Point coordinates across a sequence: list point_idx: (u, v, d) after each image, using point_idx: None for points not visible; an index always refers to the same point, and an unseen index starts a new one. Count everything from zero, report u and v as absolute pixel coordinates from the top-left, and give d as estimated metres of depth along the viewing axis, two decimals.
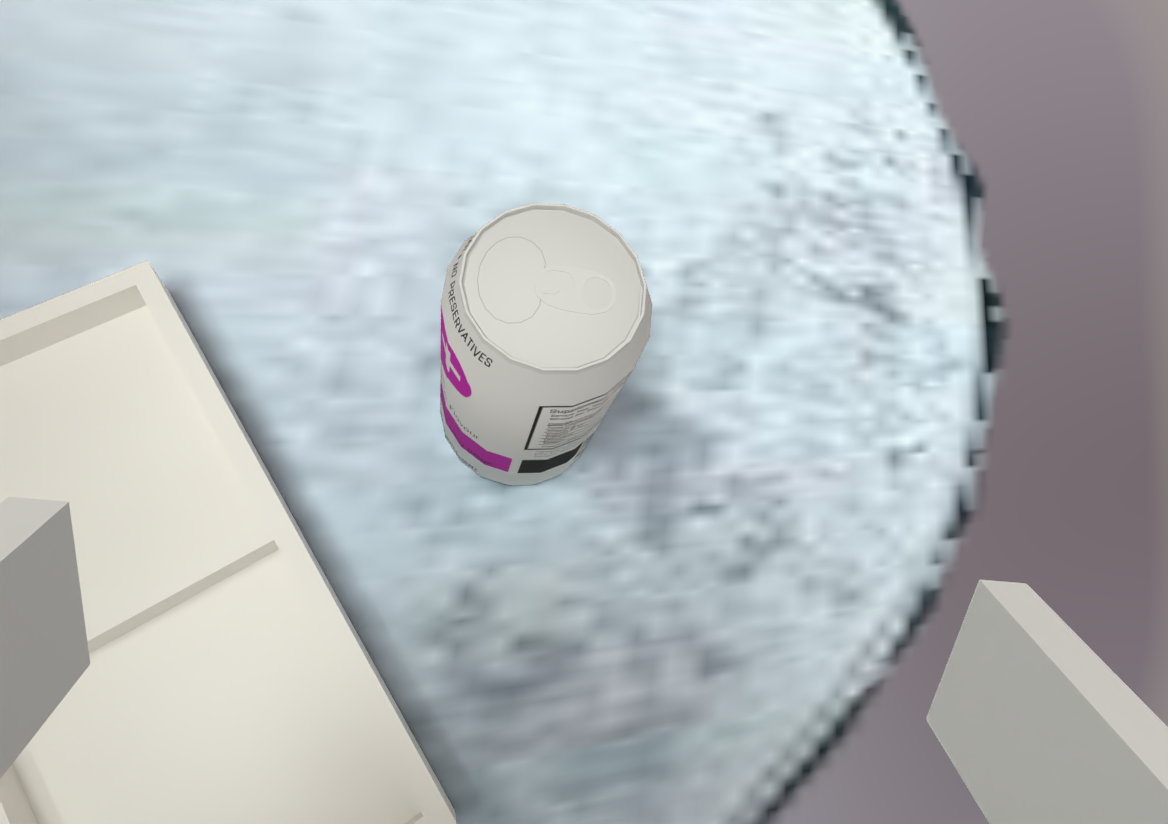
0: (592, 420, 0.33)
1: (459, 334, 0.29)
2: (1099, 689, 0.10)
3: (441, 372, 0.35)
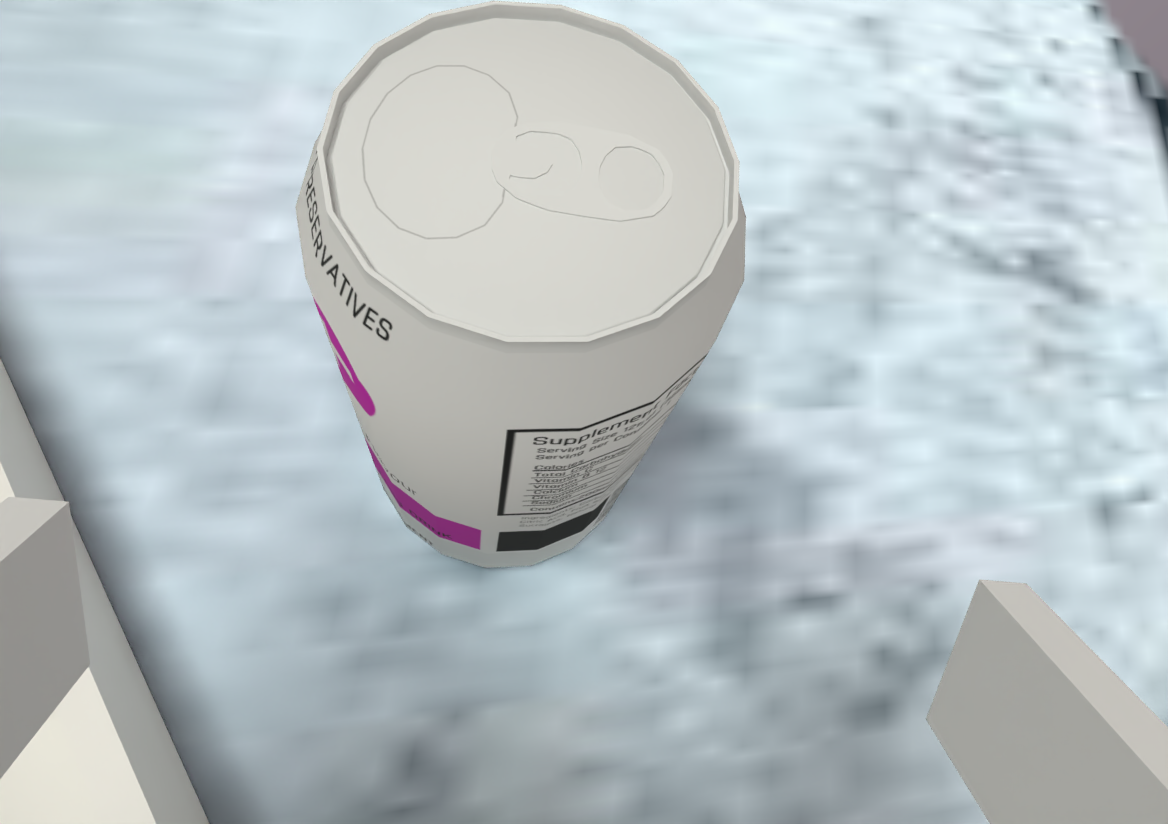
0: (625, 459, 0.17)
1: (323, 270, 0.13)
2: (1099, 689, 0.10)
3: None
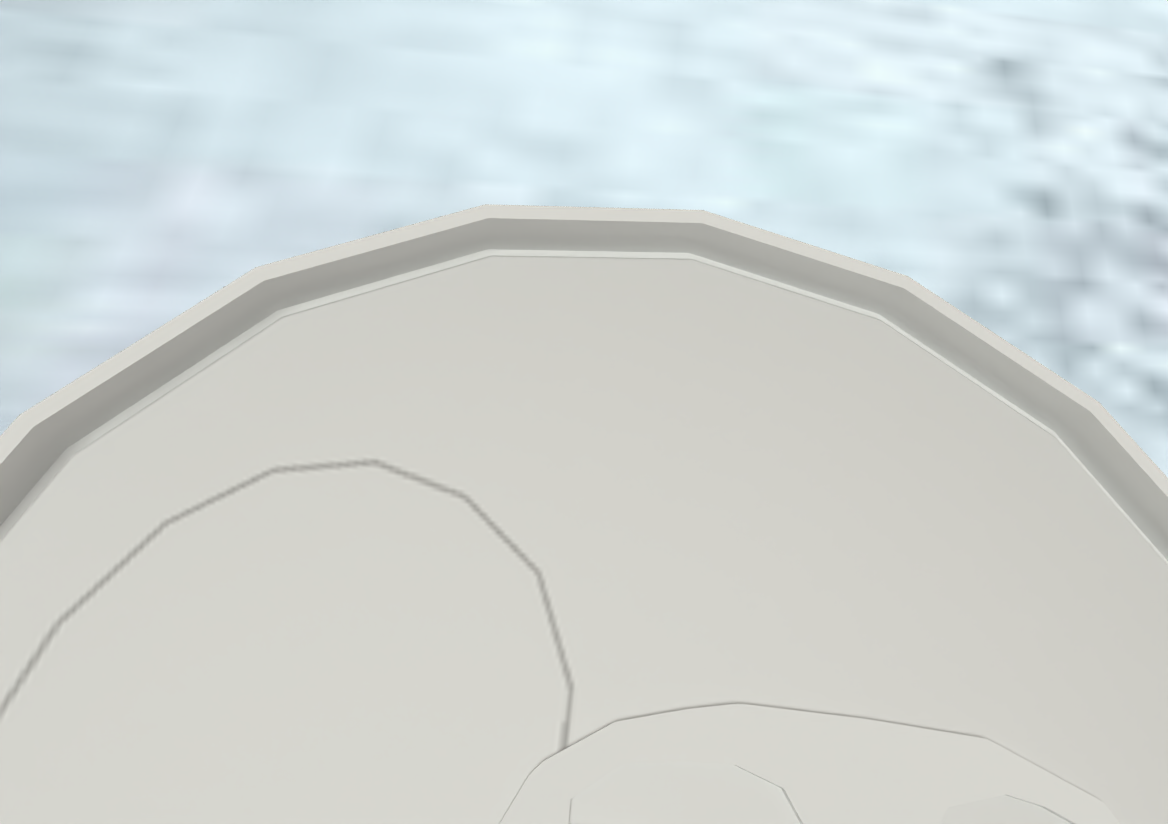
0: None
1: None
2: None
3: None
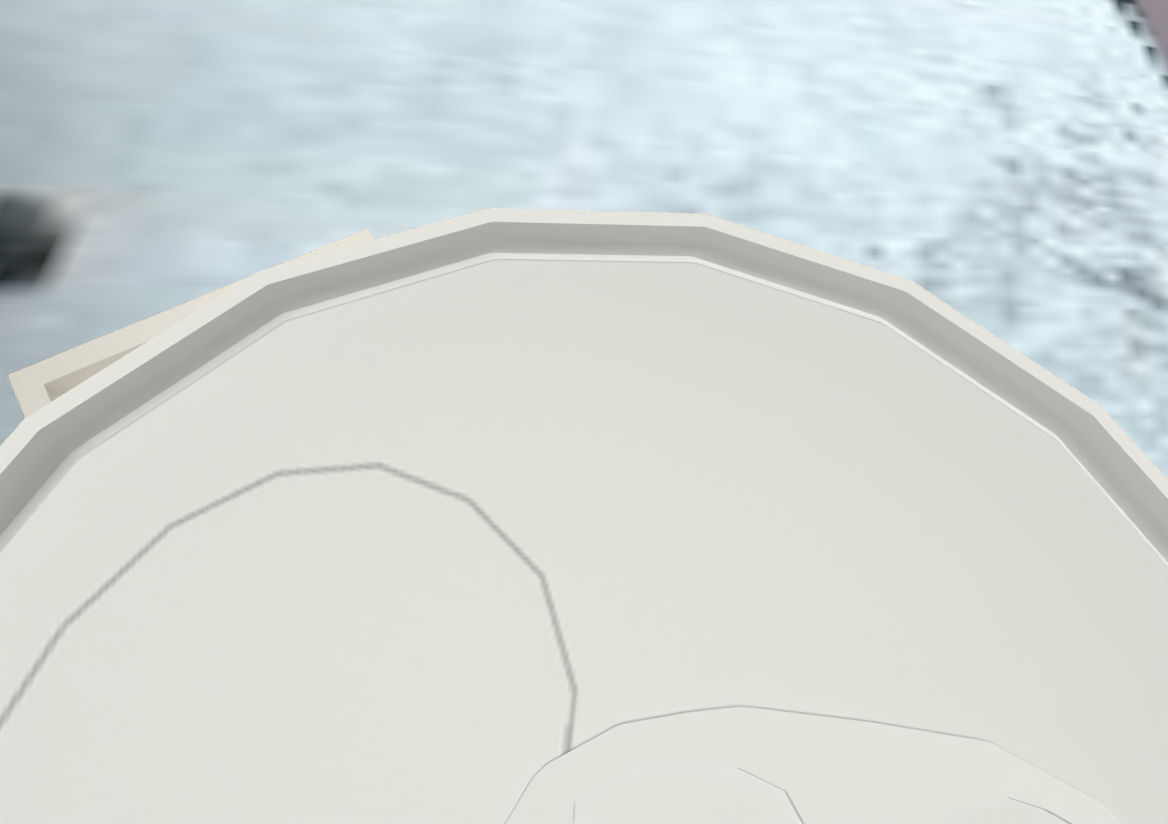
0: None
1: None
2: None
3: None
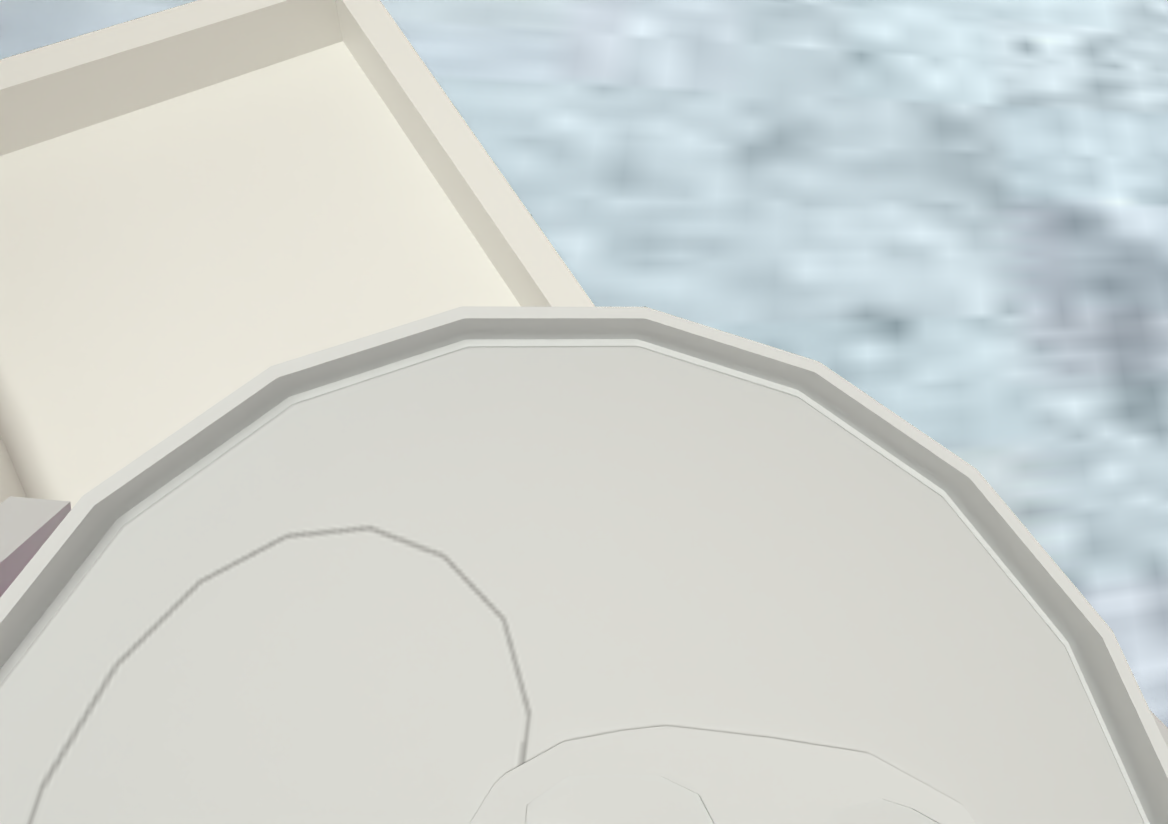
0: None
1: None
2: None
3: None
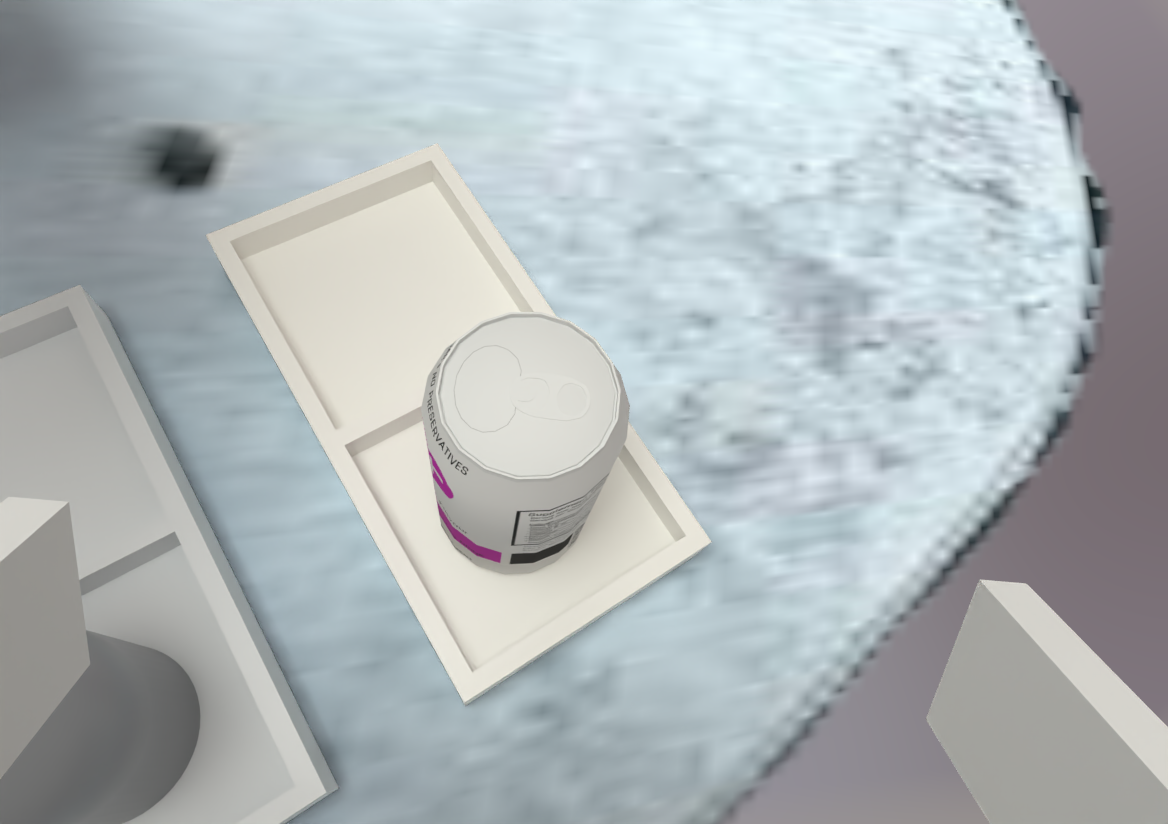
0: (576, 517, 0.34)
1: (437, 442, 0.29)
2: (1099, 689, 0.10)
3: None
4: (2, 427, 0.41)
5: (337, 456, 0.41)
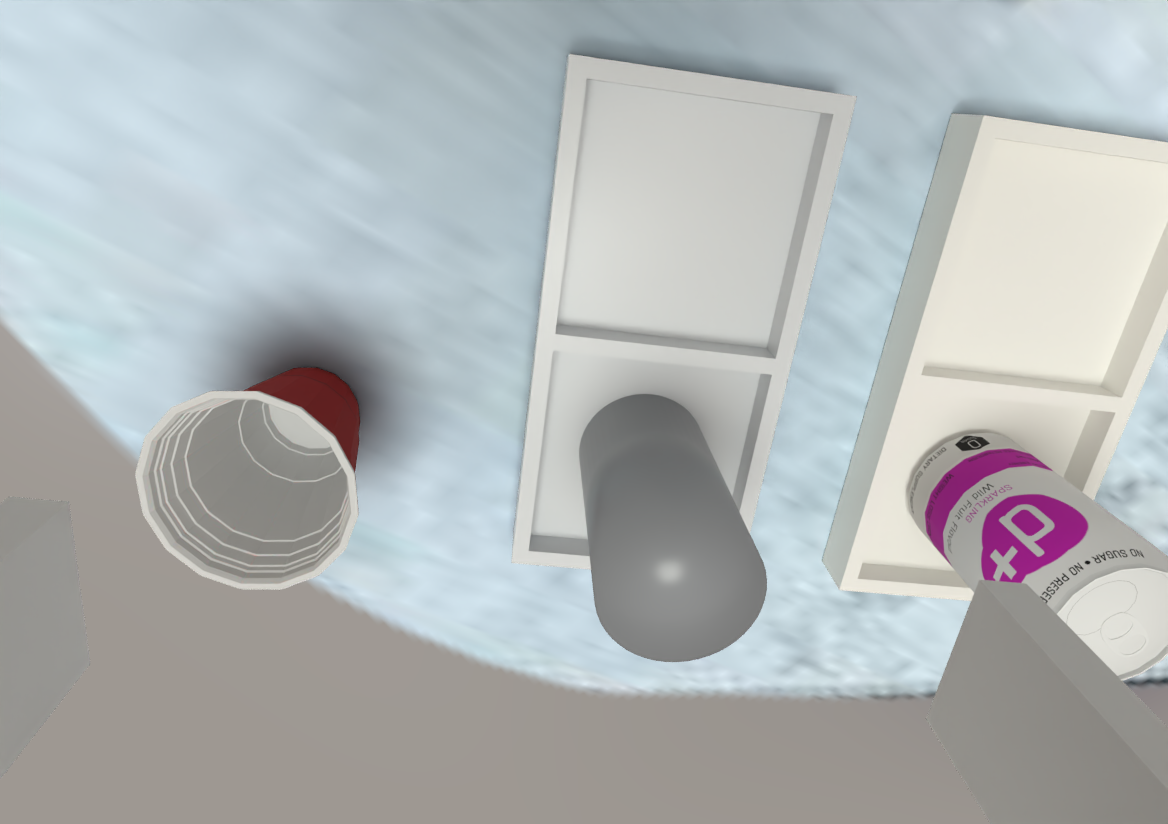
0: None
1: None
2: (1099, 689, 0.10)
3: (973, 506, 0.45)
4: (705, 175, 0.43)
5: (905, 395, 0.47)
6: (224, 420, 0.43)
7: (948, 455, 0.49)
